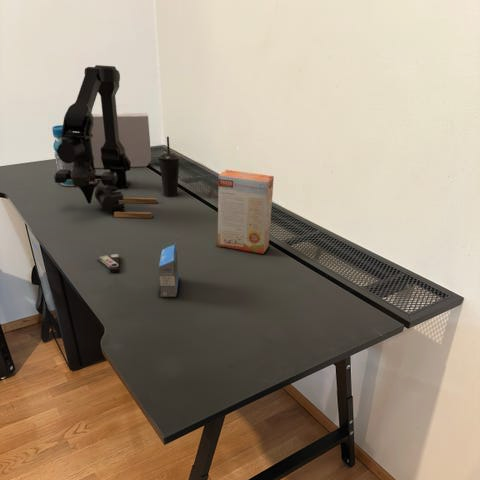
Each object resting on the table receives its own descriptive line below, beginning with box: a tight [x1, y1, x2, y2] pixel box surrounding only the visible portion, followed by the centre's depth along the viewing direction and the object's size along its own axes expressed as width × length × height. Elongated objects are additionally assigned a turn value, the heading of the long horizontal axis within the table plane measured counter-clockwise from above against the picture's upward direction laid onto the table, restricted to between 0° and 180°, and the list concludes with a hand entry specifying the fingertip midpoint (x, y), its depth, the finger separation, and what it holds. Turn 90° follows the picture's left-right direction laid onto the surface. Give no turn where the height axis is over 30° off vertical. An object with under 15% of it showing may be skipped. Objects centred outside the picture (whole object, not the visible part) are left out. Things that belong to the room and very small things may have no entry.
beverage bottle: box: [51, 124, 75, 187], centre depth 165 cm, size 8×8×20 cm
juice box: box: [158, 234, 179, 298], centre depth 108 cm, size 9×4×12 cm, turn 3°
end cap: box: [94, 184, 125, 215], centre depth 150 cm, size 10×7×7 cm
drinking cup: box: [157, 136, 181, 198], centre depth 160 cm, size 8×8×20 cm
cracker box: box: [217, 169, 274, 255], centre depth 126 cm, size 14×6×21 cm, turn 71°
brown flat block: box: [113, 196, 158, 219], centre depth 152 cm, size 14×12×2 cm
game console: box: [79, 112, 152, 169], centre depth 186 cm, size 6×27×20 cm, turn 104°
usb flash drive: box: [98, 253, 120, 273], centre depth 120 cm, size 9×5×1 cm, turn 12°
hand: (89, 203), depth 150 cm, fingers closed
